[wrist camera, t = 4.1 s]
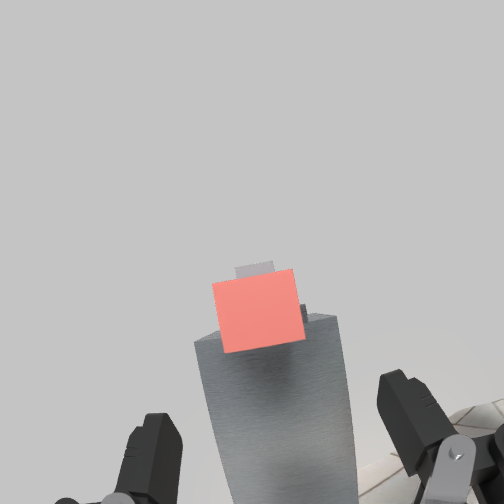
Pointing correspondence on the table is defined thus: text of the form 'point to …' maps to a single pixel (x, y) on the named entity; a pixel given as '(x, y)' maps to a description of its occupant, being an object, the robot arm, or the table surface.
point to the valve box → (283, 417)
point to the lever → (258, 308)
